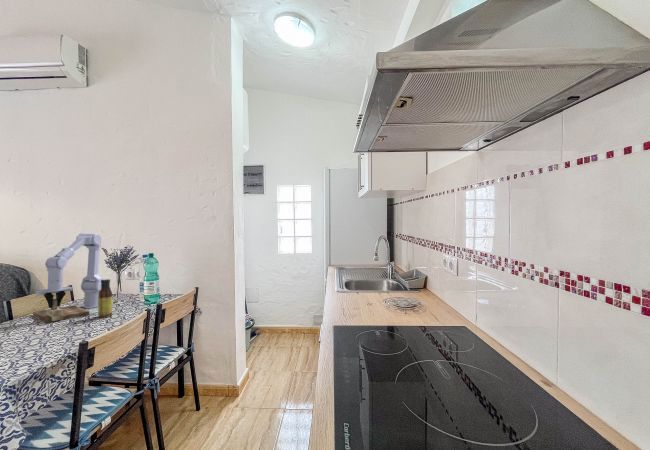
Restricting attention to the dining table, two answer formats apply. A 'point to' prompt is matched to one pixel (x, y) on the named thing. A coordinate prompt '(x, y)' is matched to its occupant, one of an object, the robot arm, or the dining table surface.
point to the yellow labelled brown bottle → (105, 299)
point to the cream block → (55, 311)
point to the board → (67, 313)
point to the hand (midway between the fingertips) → (54, 307)
